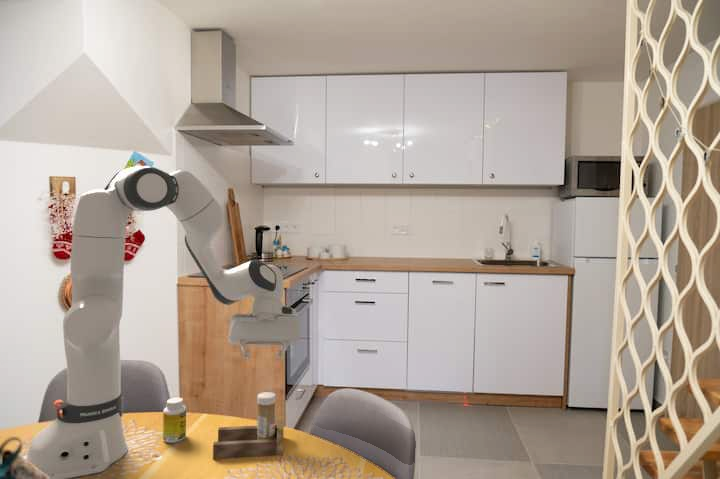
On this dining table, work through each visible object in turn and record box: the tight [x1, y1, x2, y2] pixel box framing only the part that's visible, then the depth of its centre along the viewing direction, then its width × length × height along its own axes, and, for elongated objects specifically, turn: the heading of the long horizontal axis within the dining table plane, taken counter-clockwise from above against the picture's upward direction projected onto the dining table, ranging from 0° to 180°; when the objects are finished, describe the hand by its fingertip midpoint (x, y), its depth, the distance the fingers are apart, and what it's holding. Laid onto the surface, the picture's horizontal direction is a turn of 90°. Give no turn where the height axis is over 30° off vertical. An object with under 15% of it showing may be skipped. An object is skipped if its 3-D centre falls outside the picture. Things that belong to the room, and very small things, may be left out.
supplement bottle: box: [162, 397, 187, 444], centre depth 119 cm, size 6×6×10 cm
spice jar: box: [256, 391, 277, 440], centre depth 116 cm, size 5×5×13 cm
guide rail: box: [212, 420, 285, 460], centre depth 115 cm, size 17×10×4 cm, turn 99°
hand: (263, 357), depth 127 cm, fingers open, 8 cm apart
